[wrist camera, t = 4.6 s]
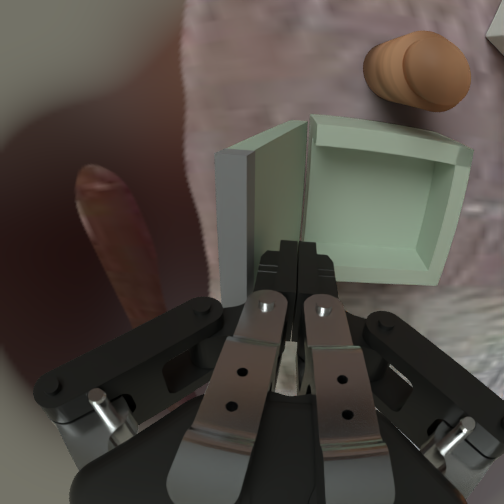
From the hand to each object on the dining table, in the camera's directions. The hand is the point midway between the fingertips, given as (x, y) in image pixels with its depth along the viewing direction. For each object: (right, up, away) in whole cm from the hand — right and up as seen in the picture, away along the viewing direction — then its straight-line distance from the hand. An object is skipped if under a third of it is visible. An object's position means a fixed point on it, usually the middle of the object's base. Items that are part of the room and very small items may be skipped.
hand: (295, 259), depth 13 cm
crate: (+7, +6, +9) cm, 13 cm away
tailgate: (+1, +4, +7) cm, 9 cm away
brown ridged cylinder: (+8, +13, +5) cm, 16 cm away
